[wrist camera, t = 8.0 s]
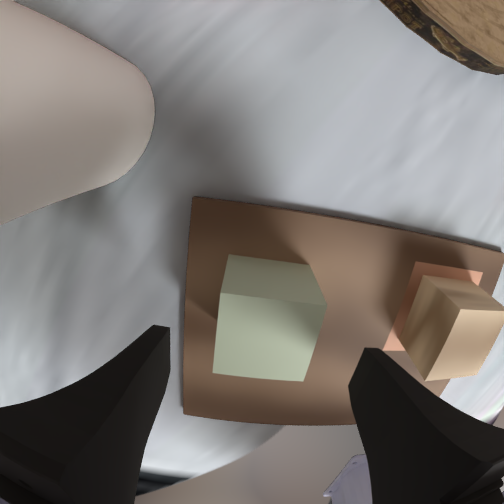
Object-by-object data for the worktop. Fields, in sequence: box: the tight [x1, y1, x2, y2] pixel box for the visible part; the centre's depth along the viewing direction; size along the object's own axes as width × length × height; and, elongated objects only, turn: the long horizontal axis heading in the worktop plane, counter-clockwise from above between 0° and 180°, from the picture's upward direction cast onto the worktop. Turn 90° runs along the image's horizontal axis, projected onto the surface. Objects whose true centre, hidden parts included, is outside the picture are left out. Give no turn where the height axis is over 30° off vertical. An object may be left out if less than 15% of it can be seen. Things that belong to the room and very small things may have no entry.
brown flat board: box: [183, 196, 504, 425], centre depth 17 cm, size 15×20×1 cm
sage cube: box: [213, 254, 327, 381], centre depth 13 cm, size 4×4×4 cm
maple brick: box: [398, 275, 504, 381], centre depth 14 cm, size 4×4×4 cm
